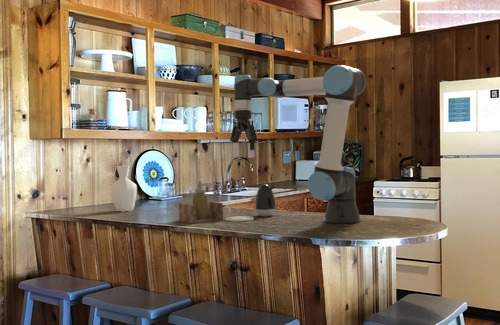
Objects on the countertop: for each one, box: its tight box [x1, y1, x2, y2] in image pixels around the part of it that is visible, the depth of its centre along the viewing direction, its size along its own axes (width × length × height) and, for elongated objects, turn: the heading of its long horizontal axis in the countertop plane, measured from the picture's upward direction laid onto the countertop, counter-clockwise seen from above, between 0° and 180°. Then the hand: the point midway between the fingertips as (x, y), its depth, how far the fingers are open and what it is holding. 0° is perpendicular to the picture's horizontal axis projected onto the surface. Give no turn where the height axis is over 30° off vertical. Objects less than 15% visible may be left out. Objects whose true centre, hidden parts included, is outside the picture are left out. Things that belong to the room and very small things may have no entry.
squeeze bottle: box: [192, 180, 210, 220], centre depth 255 cm, size 8×8×18 cm
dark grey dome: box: [254, 183, 277, 217], centre depth 265 cm, size 10×10×15 cm
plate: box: [225, 215, 255, 223], centre depth 253 cm, size 13×13×1 cm
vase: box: [110, 165, 138, 213], centre depth 306 cm, size 14×14×25 cm
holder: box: [178, 200, 224, 225], centre depth 255 cm, size 15×15×8 cm
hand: (243, 157), depth 250 cm, fingers open, 13 cm apart
